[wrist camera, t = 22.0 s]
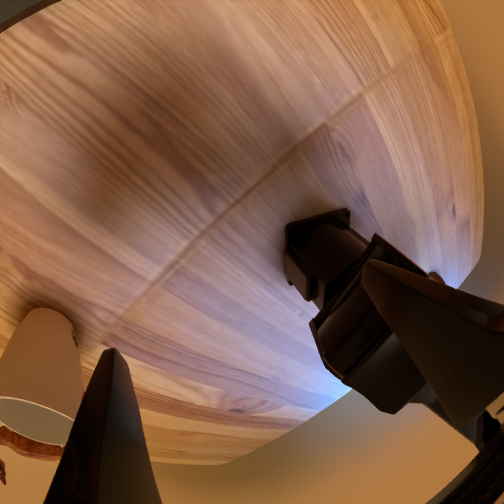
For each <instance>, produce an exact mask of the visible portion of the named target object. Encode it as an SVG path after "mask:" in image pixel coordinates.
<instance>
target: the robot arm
mask: <svg viewBox="0 0 504 504" xmlns="http://www.w3.org/2000/svg"><path fill="white" fill-rule="evenodd" d="M345 213H346V214H345ZM344 214H345V215H344ZM350 215H351V213H350V211H349V210H348V209H346V208H343V209H339V210H336V211H332V212H328V213H325V214H321V215H317V216H314V217H310V218H307V219H303V220H300V221H296V222H292V223H289V224H288V225H287V226H286V227H285V244H286V248H285V250H284V270H285V274H286V276H287V282H288V283H289V285H291V286H292V285H294V286H295V287H296V289H297V290H298V291H299V293H300V294H301V295H302V297H303V298H304V299H305V300H306V301H308V302H309V301H313V302H314V304H315V305H316V306H317V308H318V309H319V310H320V311H319V313H318V314H317V315H316V316H315V318H312V320H311V321H310V322H309V326H310V329H311V332H312V334H313V337H314V340H315V343H316V346H317V348H318V351H319V354H320V357H321V359H322V362H323V363H324V366H325V368H326V369H327V370H329V371H330V372H331V373H332V374H333V375H334V376H335V377H337V378H338V379H340V380H341V382H342V383H343V384H345V385H347V386H349V387H351V388H353V389H355V390H356V391H357V392H359V393H360V394H362V395H363V396H364V397H365V398H367V399H368V400H369V401H370V402H371V403H372V404H373V405H374V406H375V407H376V408H377V409H378V410H380V411H382V412H386V413H389V414H396V413H397V412H398V411H400V410H401V409H402V408H403V407H404V406H405V405H406V404H408V403H418V404H419V403H420V404H423V405H425V406H426V407H428V408H429V409H430V410H431V411H433V412H434V413H435V414H436V415H438V416H439V417H440V418H441V419H443V420H444V421H445V422H446V423H448V424H449V425H450V426H451V427H453V428H454V429H455V430H457V431H458V432H459V433H460V434H462V435H463V436H464V437H465V438H467V439H468V440H469V441H470V442H472V443H473V444H474V445H475V446H476V448H477V449H478V450H479V453H478V454H477V455H476V457H475V458H474V459H473V460H472V461H471V462H470V463H469V464H468V465H467V466H466V467H465V468H464V469H463V471H461V472H460V473H459V474H458V475H457V476H456V477H455V478H454V479H453V480H452V481H451V482H450V483H449V484H448V485H447V486H446V487H445V488H443V489H442V490H441V491H440V492H439V493H438V494H437V495H435V496H434V497H433V498H432V499H431V500H429V501H428V502H427V503H426V504H504V305H503V304H499V303H496V302H493V301H490V300H487V299H483V298H480V297H477V296H474V295H471V294H469V293H466V292H463V291H460V290H458V289H455V288H453V287H450V286H448V285H445V284H442V283H440V282H437V281H435V280H434V279H433V278H432V277H431V276H430V275H428V274H427V273H426V272H425V271H424V270H423V269H422V268H420V267H419V266H418V265H417V264H416V263H414V262H413V261H412V260H411V259H409V258H408V257H407V256H406V255H404V254H403V253H402V252H401V251H399V250H398V249H397V248H395V247H394V246H393V245H391V244H390V243H389V242H387V241H386V240H385V239H383V238H382V237H381V236H379V235H378V234H376V233H374V235H373V236H372V238H371V239H372V240H371V242H369V241H367V240H366V239H365V238H364V237H362V236H361V235H360V234H359V233H357V232H356V231H355V230H353V229H352V228H351V227H349V226H350ZM291 228H293V229H292V230H291V231H290V229H291ZM43 504H162V501H161V498H160V495H159V492H158V488H157V485H156V482H155V478H154V475H153V471H152V467H151V463H150V459H149V455H148V450H147V446H146V442H145V437H144V432H143V427H142V422H141V416H140V411H139V406H138V402H137V399H136V395H135V391H134V387H133V383H132V379H131V375H130V371H129V367H128V364H127V362H126V361H125V359H124V358H123V357H122V355H121V354H120V353H119V352H118V350H117V349H116V348H110V349H106V350H104V351H103V353H102V355H101V357H100V359H99V361H98V363H97V366H96V368H95V370H94V372H93V375H92V377H91V379H90V382H89V384H88V386H87V389H86V391H85V394H84V396H83V399H82V401H81V404H80V406H79V409H78V411H77V414H76V417H75V419H74V422H73V425H72V428H71V430H70V433H69V436H68V440H67V442H66V445H65V448H64V451H63V454H62V456H61V459H60V463H59V465H58V467H57V470H56V473H55V475H54V477H53V480H52V482H51V485H50V487H49V490H48V493H47V495H46V498H45V500H44V503H43Z"/></svg>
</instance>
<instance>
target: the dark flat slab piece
mask: <svg viewBox="0 0 504 504" xmlns="http://www.w3.org/2000/svg"><path fill="white" fill-rule="evenodd" d="M58 1H60V0H0V33H1V32H2V31H4V30H5V29H7V28H9V27H10V26H12V25H13V24H15V23H17V22H18V21H20V20H22V19H24V18H26V17H27V16H29V15H31V14H33V13H35V12H37V11H39V10H41V9H43V8H45V7H47V6H49V5H51V4H53V3H55V2H58Z"/></svg>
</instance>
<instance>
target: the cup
mask: <svg viewBox="0 0 504 504" xmlns="http://www.w3.org/2000/svg"><path fill="white" fill-rule="evenodd" d="M84 394H85V390H84V383H83V377H82V370H81V362H80V354H79V349H78V346H77V342H76V337H75V333H74V329H73V326H72V324H71V323H70V321H69V320H68V319H67V318H66V317H65V316H63V315H62V314H61V313H59V312H57V311H55V310H52V309H49V308H35V309H33V310H31V311H30V312H29V313H28V315H27V316H26V317H25V318H24V319H23V320H22V322H21V323H20V324H19V325H18V326H17V328H16V329H15V331H14V333H13V335H12V336H11V338H10V340H9V342H8V344H7V346H6V348H5V350H4V352H3V354H2V356H1V359H0V422H1V423H2V424H4V425H5V426H6V427H8V428H9V429H11V430H13V431H15V432H16V433H18V434H20V435H23V436H25V437H27V438H30V439H33V440H36V441H39V442H43V443H47V444H52V445H62V446H65V445H66V442H67V440H68V436H69V433H70V430H71V428H72V425H73V422H74V419H75V417H76V414H77V411H78V409H79V406H80V404H81V401H82V399H83V396H84Z"/></svg>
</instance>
